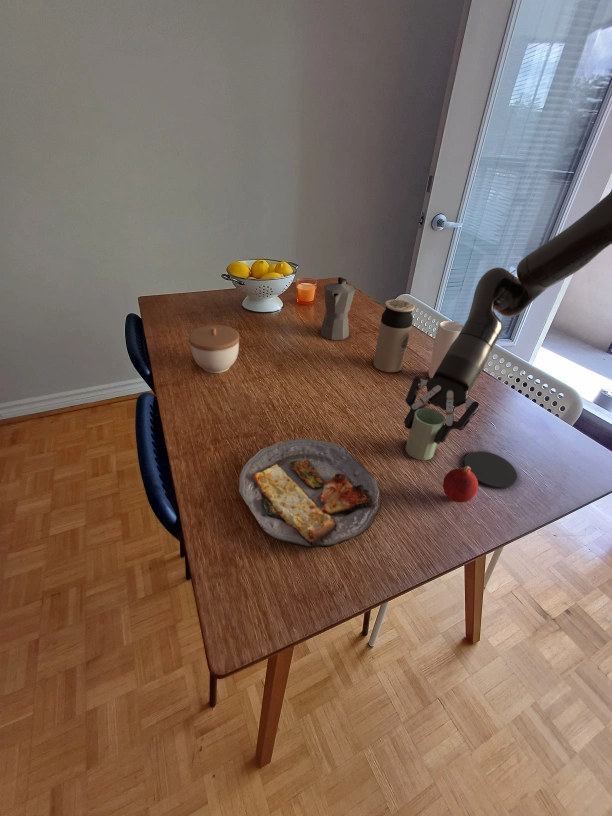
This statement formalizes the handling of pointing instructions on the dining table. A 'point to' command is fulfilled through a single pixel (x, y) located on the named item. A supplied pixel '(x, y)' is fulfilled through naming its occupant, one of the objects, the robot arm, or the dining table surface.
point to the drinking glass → (443, 343)
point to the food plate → (309, 493)
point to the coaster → (491, 469)
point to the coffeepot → (337, 309)
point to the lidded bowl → (214, 347)
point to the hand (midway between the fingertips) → (421, 435)
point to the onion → (460, 484)
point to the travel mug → (393, 335)
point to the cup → (424, 433)
